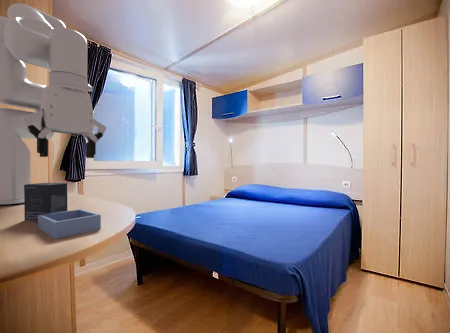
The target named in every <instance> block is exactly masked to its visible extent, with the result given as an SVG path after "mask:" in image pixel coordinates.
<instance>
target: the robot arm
mask: <svg viewBox="0 0 450 333" xmlns="http://www.w3.org/2000/svg"><path fill="white" fill-rule="evenodd" d="M6 11H7V12H6V14H7V17H3V16H0V104H3V105H6V106H11V107H17V108H24V109H30V110H33V111H26V110H22V109H16V108H8V107H7V108H6V107H0V205H3V206H4V205H12V204H13V205H14V204H15V205H16V204H24V185H25V184H32V183H31V179H32V177H31V176H32V175H31V150H30V148H29V146H28V145H27V144H26V143H25V141H24V140H23V139H29V140H31V139H33V140H36V153H37V154H39V157H40V158H47V157H49V140H50V139H51V138H53V136H54V134H68V135H76V136H77V135H78V136H81V135H82V136H84V138H85V139H86V140H87V142H86V143H85V158H86V159H94V158H95V156H96V154H97V153H96V150H97V148H96V146H97V144H96V143H97V142H99V140H100V139H101V138H103V137H104V134H105V133H106V131H107V127H106V126H105V125H104V124H102V123H101V122H99V121H97V120H96V119H95V118H94V109H93V103H92V98H91V94H90V93H88V92H91V93H92V92H93V91H94V88H93V86H92V85H90V84H89V81H88V41H87V39H86V37H85V36H84V35H83V34H82V33H80V32H79V31H77V30H75V29H72V28H68V27H66V25H65V23H64V22H63V21H62V20H60V19H59V18H58V17H54V16H52V15H50V14H49V13H46V12H43V11H41V9H40V10H39V9H37V8H36V7H33V6H31V5H28V4H24V3H13V4H11V5H10V6H9V7H8V8H7V10H6ZM26 64H29V65H33V66H36V67H40V68H44V69H47V70H48V85H45V84H40V83H37V82H33V81H29V80H28V78H27V77H28V76H27V75H28V74H27V73H28V72H27V71H28V70H27V66H26ZM94 127H95V128H96V129H97V130H96V131H97V132H96V133H94V129H95V128H94Z"/></svg>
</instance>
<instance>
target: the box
mask: <svg viewBox="0 0 450 333" xmlns="http://www.w3.org/2000/svg"><path fill="white" fill-rule="evenodd" d="M23 205H24V208H23V209H24V221H25V222H35V223H38V215H43V214H50V213H57V212H64V211H68V183H67V182H39V183H38V182H37V183H31V184H25V185H24V203H23Z"/></svg>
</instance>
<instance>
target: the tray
mask: <svg viewBox="0 0 450 333" xmlns="http://www.w3.org/2000/svg"><path fill="white" fill-rule="evenodd" d="M101 215H102V214H100V213H96V212H93V211H92V212H91V211H88V210H85V209H82V208H79V209H74V210H73V209H72V210H71V209H70V210H67V211H64V212H57V213H50V214H43V215H38V222H37V228H38V229H39V230H40V231H42V232H44V233H45V234H47V235H48V236H50V237H51V238H52V239H54V240H58V239H62V238H66V237H71V236H76V235H80V234H84V233H88V232H94V231H96V230H101V228H102V226H101V224H102V221H101V220H102V219H101Z"/></svg>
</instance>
